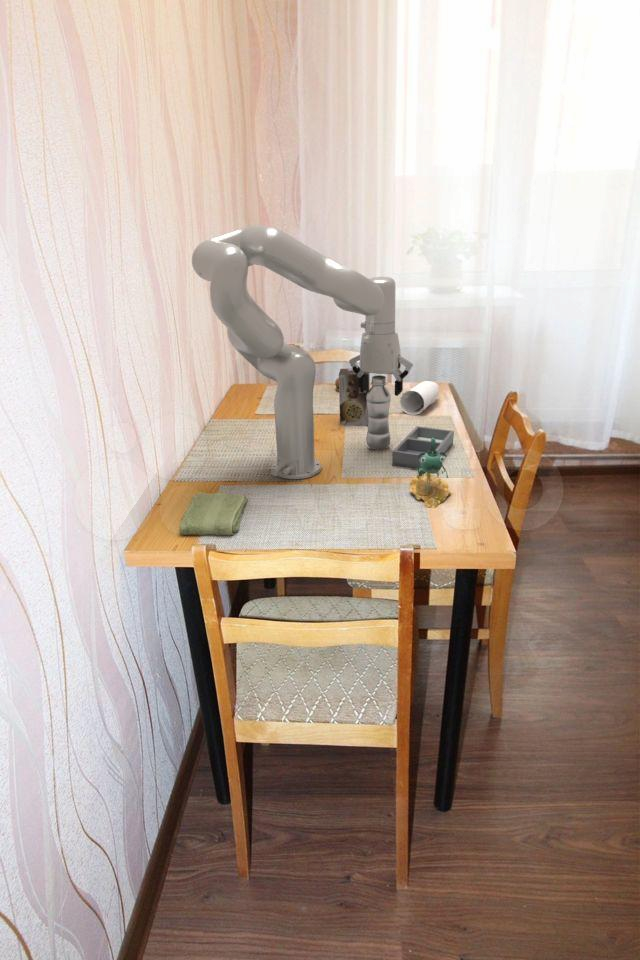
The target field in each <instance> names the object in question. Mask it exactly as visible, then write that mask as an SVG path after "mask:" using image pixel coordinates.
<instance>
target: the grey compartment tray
mask: <svg viewBox="0 0 640 960" xmlns="http://www.w3.org/2000/svg"><path fill="white" fill-rule="evenodd" d="M454 435H455V430H450V429H444V428H443V429H442V428H436V427H427V426H418V425H416V426H415V427H414V428H413V429H412V431H410V432H409V434H408V435H407V436H405V437H404V439H403V440H402V441H401V442H400V443H399V444H397V446H396V447H395V448H394V449H393V450H392V454H391V455H392V456H391V457H392V461H391V465H392V467H398V468H399V467H400V468H403V469H410V470H416V471H417V467H418V462H419V465H420V464H421V462H420V461H419V460H420V457H423V456H424V455H422V456H420V457H419V458H418V456H419V454H421V453H425V454H427V450H429V451H431V439H432V438H435V440H436V441H435V451H436V450H437V452H438V455H439V456H444V455H443V454H441V455H440V453H441V452H444V453H445V454H446V455H447V453H448V452H449V451H450V449H452V447H453V445H454V438H455V437H454ZM444 457H445V456H444ZM420 468H421V465H420V466H419V469H420Z"/></svg>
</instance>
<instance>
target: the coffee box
mask: <svg viewBox="0 0 640 960" xmlns="http://www.w3.org/2000/svg"><path fill="white" fill-rule="evenodd" d="M370 374H371V373H367V372H366V373H365V375H366V376H367V390H365V391H364V392H360V388H359V378H358V377H357V374H356V373H355V372H354V371H353V369H352V368H340V370H339V373H338V378H339V391H338V393H339V395H338V398H339V400H338V402H339V426H344V427H345V426H346V427H347V426H357V427H358V426H367V427H368V421H369V420H368V407H367V400H366V396H367V393H368V391H369V390H370V388H371V387H370V385H371V384H370V380H371V379H370V376H371V375H370Z"/></svg>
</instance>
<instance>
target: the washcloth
mask: <svg viewBox="0 0 640 960" xmlns="http://www.w3.org/2000/svg"><path fill="white" fill-rule="evenodd" d="M248 500H249V499H248V497H247V496H245V495H243V494H232V493H224V492H215V493H206V492H198V493H196V494H195V495H194V496H193V497H192V498H191V499H190V502H189V505H188V507H187V508H186V510H185V512H184V514H183V516H182V517H181V521H180V524H179V525H180V526H179V533H180V534H181V535H184V536H186V535H187V536H188V535H194V536H197V535H198V536H203V535H215V536H220V535H221V536H233V535H235V534H236V532H238V531H239V529H240V522H241V519H242V514H243V513H244V509H245V505H246V503H247V501H248Z"/></svg>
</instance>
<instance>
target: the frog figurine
mask: <svg viewBox="0 0 640 960" xmlns="http://www.w3.org/2000/svg"><path fill="white" fill-rule="evenodd" d="M435 441H436V440H435V438H432V439H431V451H429V450H427V454H425V453H421V454H419V456H418V458H419V457H420V456H422V455H424V456H423V457H420V460H419V461H420V462H421V464H420V465H421V468H420V469H419V466H420V465H419V462H418V467H417V470H416V472H417V475H416V476H413V477H412V479H411V481H410V483H409V492H410V493H412V494H413V495H414V497H415V498H416V500H418V501H419V500H422V501H423V504H424V506H425V507H426V508H433V509H435V508H438V505H440V504H442V503H443V502H445V501H446V498H447V497H449V495H450V494H452V491H450V490H449V485H448V482H446V481H445V480H442V479H441V478H439V475H440V470H441V469H442V470H441V475H443V474H444V473H445V475H446V478H447V479H449V475H448V473H447V469H446V467H444V465H443V463H444V462H445V461H446V457H447V453H446V454H445V453H444V452H441V453H440V455H441V454H443V455H444V456H439V455H438V452H437V450H436V451H435ZM436 475H437V476H436Z"/></svg>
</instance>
